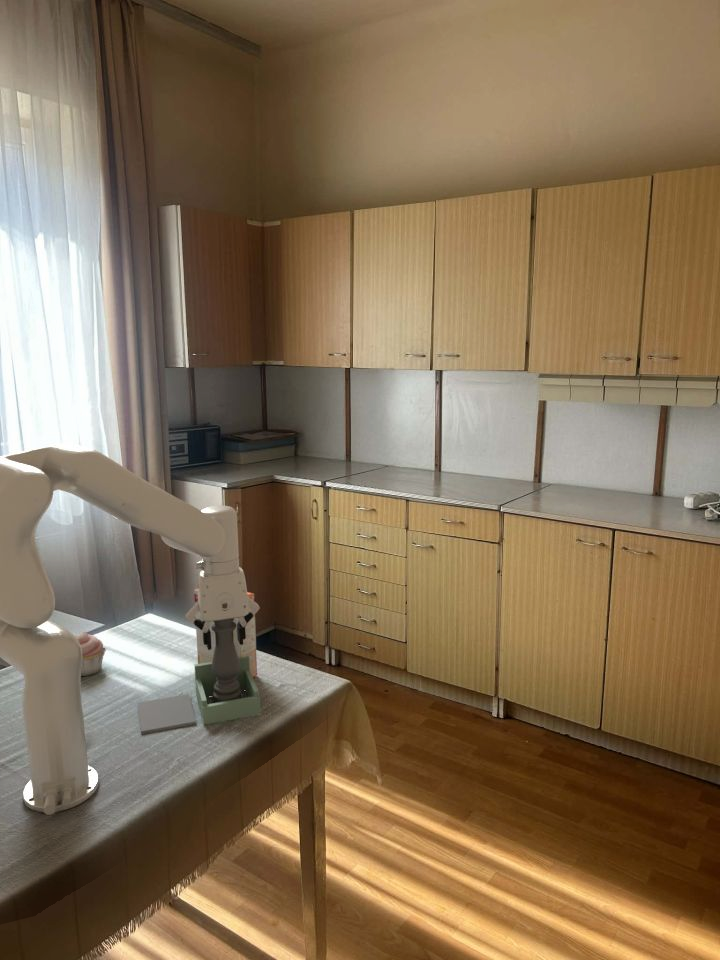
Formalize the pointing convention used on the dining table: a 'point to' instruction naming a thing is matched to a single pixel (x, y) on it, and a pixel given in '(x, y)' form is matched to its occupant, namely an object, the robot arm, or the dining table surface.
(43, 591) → the robot arm
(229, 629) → the candle holder
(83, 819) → the dining table surface
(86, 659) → the cupcake
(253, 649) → the cracker box
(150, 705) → the slate mat
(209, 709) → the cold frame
